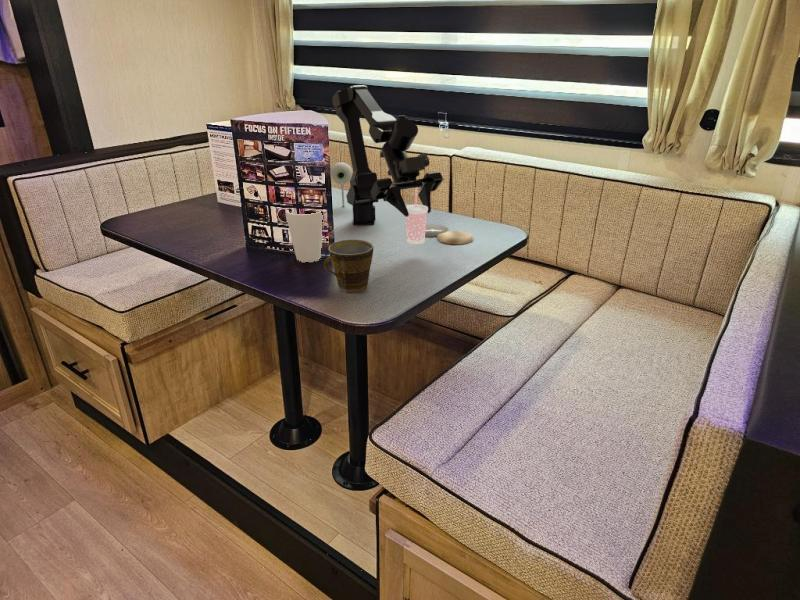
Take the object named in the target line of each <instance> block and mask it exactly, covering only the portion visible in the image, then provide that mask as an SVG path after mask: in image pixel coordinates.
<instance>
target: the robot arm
mask: <svg viewBox="0 0 800 600" xmlns="http://www.w3.org/2000/svg"><path fill="white" fill-rule="evenodd" d="M331 101H332V105H333V108H334V109H335V113H336V116H337V117H338V119H340V121H341V122H342V123H343V125H344V130H345V136H346V137H345V138H346V141H347V146H348V150H349V151H348V153H349V157H350V161H351V166H352V167H351V168H352V177H351V180H350V181H349V186H350V187H349V189H348V191H347V193H346V202H347V204H349V205H350V206H352V220H353V221H352V225H354V226H358V225H359V226H361V225H362V226H364V225H374V224H375V222H376V221H377V218H376V206H375V205H374V203H379V200H383V202H387V203H389V205H392V206H393V207H394V208H395V209H397V211H399V212H400V213H401V214H402V215H403V216H404V217H405V216H406V217H408V215H409V214H408V210H407V208H406V206H407V205H406V203H405V200H404V198H403V195H402V191H401V190H406V189H407V190H408V189H415V188H417V189H418V191H419V193H417V197H418V198H419V201H421V205H425V206H427V207H428V212H427V214H430V213H431V211H432V210H431V209H432V207H431V205H432V204H431V203H432V202H431V201H432V200H431V199H432V197H431V193H432V192H434V191H437V189H438V188H439V187H440V185H441V184H442V182H443V181H444V177H443V175H442V173H441V171H438V170H437V171H432V172H426V173H425V175H423V177H422V178H419V179H418V178H417V177H419V176H420V174H421V173H420V171H422V170H423V171H424V170H425V169H426V168H427V167H428V166H430V158H429V156H428V154H427V153H420V154H418V155H417V156H412V157H411V156H410V157H408V153H407V151H408V150H409V149H410V147H411V145H412V144H413V143H414V140H415V139H416V137H417V135H418V133H419V127H418V125H417V124H415V122H414V121H412V120H411V119H408V118H407V116H406V115H397V116H396V118H395V117H394V116H393V115H392V114H389V113H386V112H385V111H383V110H382V108H381V107H380V105H378V103H377V101H376V100H375V99H374V96H372V94H371V93H370V91H369V88H368V86H367V85H364V84H362V85H360V84H359V85H351V86H349V87H348V88H345V89H342V90H337V91H336V92H335V93H334V94H333V95H332V100H331ZM361 116H363V117H364V119H365V120H366V122H367V123H368V125H369V127H368V133H369V136H370V138H371V140H372V141H373V142H374V143H375V144H382V143H384V144H383V145H382V147H381V151H380V154H379V157H380V159H381V158H384V160H385V163H386V165H387V168H388V171H387V175H388V177H386V178H379V179H378V174H377V173H376V172H373V171H372V170H371V169H370V167H369V161H368V157H367V151H366V146H365V141H364V136H363V129H362V125H361V119H360V118H361ZM390 176H391V178H390ZM406 217H405V218H406Z"/></svg>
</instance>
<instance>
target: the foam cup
mask: <svg viewBox="0 0 800 600" xmlns="http://www.w3.org/2000/svg"><path fill="white" fill-rule="evenodd" d="M284 212H285V218H286V219H285V220H286V222H287V224H288V225H287V226H288V228H289V233H290V238H291V240H292V241H291V242H292V246H293V250H294V254H295V257H296V260H297V261H298V260H299V261H298V262H300V261H301V262H300V263H305V262H309V263H314V261H315V262H318V261H320V260H321V259H320V258H322V254H321V248H322V249H323V236H322V220H323V221H324V219H323V215H322V213H321V211H319V212H316V213H311V214H292V213H289V210H286V209H285V211H284ZM319 259H320V260H319Z"/></svg>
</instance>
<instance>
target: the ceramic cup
mask: <svg viewBox="0 0 800 600" xmlns="http://www.w3.org/2000/svg"><path fill="white" fill-rule="evenodd" d="M327 248H328V255H329V256H328V257H326V259H324V263H323V267H324V269H325V270H326V272H329V273H331V274H332V275H333V276H334V277H335V278H336V284H337V286H338V291H339V292H341V293H344V294H346V295H353V294H360V293H362V292H363V293H364V291H366V290H368V287H369V279H370V271H371V270H370V269H371V266H372V261H373V256H374V248H375V247H374V244H373V243H371V241H367V240H363V239H344V240H339V241H336V242H333V243H331V244H330V245H329V246H328V247H327ZM330 261H331V265H332V267H333V271H332V270H330V269H328V268H327V266H328V265H327V264H328V263H329V262H330Z"/></svg>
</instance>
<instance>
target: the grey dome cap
mask: <svg viewBox="0 0 800 600" xmlns="http://www.w3.org/2000/svg"><path fill="white" fill-rule="evenodd" d="M447 231H449V228H448V227H447V226H446V225H442V224H436V223H434V224H433V223H430V224H429V223H426V231H425V238H426V237H429V238H433V237H435V238H437V237H436V236H437V235H438V234H440V233H441V234H442V233H443V232H447Z"/></svg>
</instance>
